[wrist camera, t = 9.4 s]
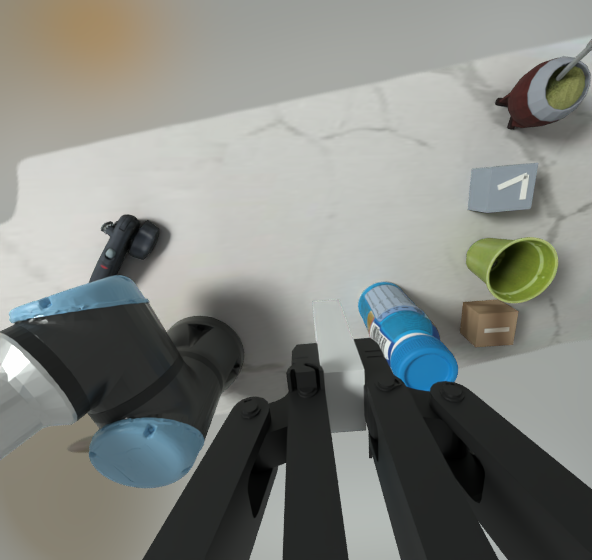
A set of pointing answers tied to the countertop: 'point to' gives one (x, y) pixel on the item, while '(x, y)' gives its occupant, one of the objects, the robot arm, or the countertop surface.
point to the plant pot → (513, 267)
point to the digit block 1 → (488, 323)
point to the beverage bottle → (406, 337)
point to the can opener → (124, 244)
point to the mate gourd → (548, 91)
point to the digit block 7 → (502, 188)
